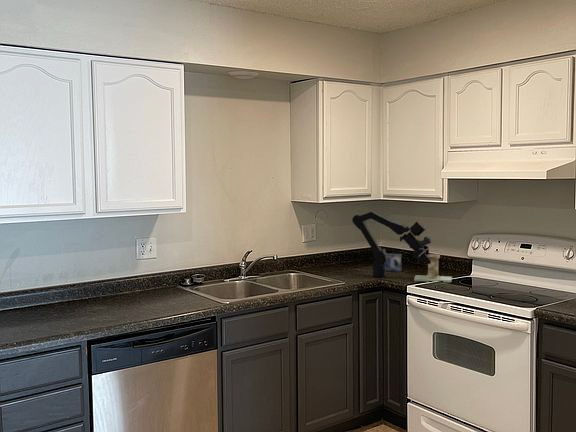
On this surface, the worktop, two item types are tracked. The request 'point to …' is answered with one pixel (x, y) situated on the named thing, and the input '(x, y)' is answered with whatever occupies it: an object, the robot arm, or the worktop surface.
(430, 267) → the tan turned knob
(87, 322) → the worktop surface
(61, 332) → the worktop surface
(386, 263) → the small box
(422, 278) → the board
